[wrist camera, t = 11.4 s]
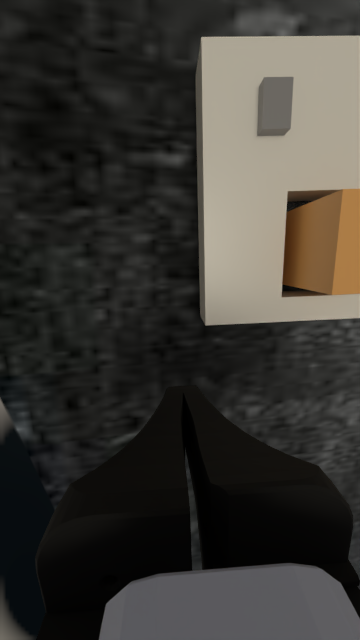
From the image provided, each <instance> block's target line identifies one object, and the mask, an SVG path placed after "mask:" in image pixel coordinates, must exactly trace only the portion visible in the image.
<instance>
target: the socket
mask: <svg viewBox="0 0 360 640" xmlns="http://www.w3.org/2000/svg"><path fill="white" fill-rule="evenodd" d="M195 79H196V129H197V180H198V231H199V281H200V316H201V318H202V320H203V322H204V323H205V325H224V324H245V323H265V322H286V321H306V320H326V319H347V318H360V294H342V295H330V294H325V293H320V292H316V291H311V290H298V291H282V280H283V263H284V245H285V228H286V211H287V202H289V201H315V200H318V199H320V198H322V197H325V196H327V195H330V194H332V193H335V192H337V191H340V190H342V189H360V36H270V37H201V43H200V50H199V56H198V63H197V70H196V77H195Z"/></svg>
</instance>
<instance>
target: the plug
mask: <svg viewBox="0 0 360 640" xmlns="http://www.w3.org/2000/svg"><path fill="white" fill-rule="evenodd" d="M282 284H283V285H288V286H292V287H297V288H302V289H306V290H311V291H316V292H320V293H325V294H330V295H342V294H360V189H342V190H340V191H337V192H335V193H332V194H330V195H327V196H325V197H322V198H320V199H318V200H315V201H313V202H310V203H308V204H305V205H303V206H300V207H298V208H295V209H293V210H290V211H288V212H286V228H285V245H284V263H283V280H282Z"/></svg>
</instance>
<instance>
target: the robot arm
mask: <svg viewBox="0 0 360 640" xmlns="http://www.w3.org/2000/svg"><path fill="white" fill-rule="evenodd" d="M185 447H186V453H187V458H188V463H189V469H190V474H191V479H192V485H193V490H194V495H195V502H196V509H197V519H198V529H199V539H200V549H201V559H202V569H203V570H198V571H192V557H191V529H190V507H189V496H188V485H187V477H186V469H185ZM352 530H353V515H352V512H351V509H350V507H349V505H348V503H347V502H346V500H345V499H344V498H343V496H342V495H341V494H340V492H339V491H338V489H337V488H336V487H335V485H334V484H333V483H332V481H331V480H330V479H329V478H328V477H327V476H326V474H325V473H324V472H323V471H322V470H321V468H320V467H319V466H317V465H314V464H311V463H309V462H306V461H303V460H301V459H298V458H295V457H292V456H290V455H287V454H285V453H283V452H281V451H279V450H277V449H274V448H272V447H270V446H268V445H266V444H264V443H262V442H261V441H259V440H257V439H255V438H254V437H252V436H250V435H249V434H247V433H246V432H244V431H242V430H241V429H240V428H238V427H237V426H236V425H234V424H233V423H231V422H230V421H229V420H228V419H226V418H225V417H224V416H223V415H222V414H221V413H220V412H219V411H218V410H217V409H216V408H215V407H214V406H213V405H212V404H211V403H210V402H209V401H208V400H207V399H206V397H205V396H204V395H203V394H202V392H201V391H200V390H199V389H198V387H197V386H196V385H194V386H176V387H168V388H167V389H166V392H165V395H164V397H163V399H162V401H161V403H160V404H159V406H158V408H157V409H156V411H155V413H154V414H153V415H152V417H151V418H150V420H149V421H148V422H147V424H146V425H145V426H144V428H143V429H142V430H141V431H140V432H139V433H138V434H137V436H136V437H135V438H134V439H133V440H132V441H131V442H130V443H129V444H127V445H126V446H125V447H124V448H123V449H122V450H121V451H120V452H118V453H117V454H116V455H115V456H113V457H112V458H111V459H109V460H108V461H107V462H105V463H104V464H102V465H101V466H99V467H98V468H96V469H95V470H93V471H92V472H90V473H88V474H87V475H85V476H83V477H82V478H80V479H78V480H77V481H75V482H73V483H71V484H70V485H69V487H68V489H67V491H66V493H65V494H64V496H63V498H62V499H61V501H60V503H59V504H58V506H57V508H56V510H55V512H54V514H53V516H52V519H51V521H50V523H49V525H48V527H47V529H46V532H45V534H44V536H43V538H42V540H41V543H40V545H39V548H38V551H37V554H36V557H35V558H36V572H37V576H38V580H39V584H40V589H41V593H42V597H43V601H44V605H45V609H46V613H45V616H44V619H43V622H42V625H41V628H40V631H39V634H38V636H37V639H36V640H360V590H359V588H358V587H357V586H359V584H360V580H359V577H358V575H357V573H356V571H355V570H354V568H353V566H352V565H351V563H350V562H349V560H348V555H349V549H350V543H351V536H352Z"/></svg>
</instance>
